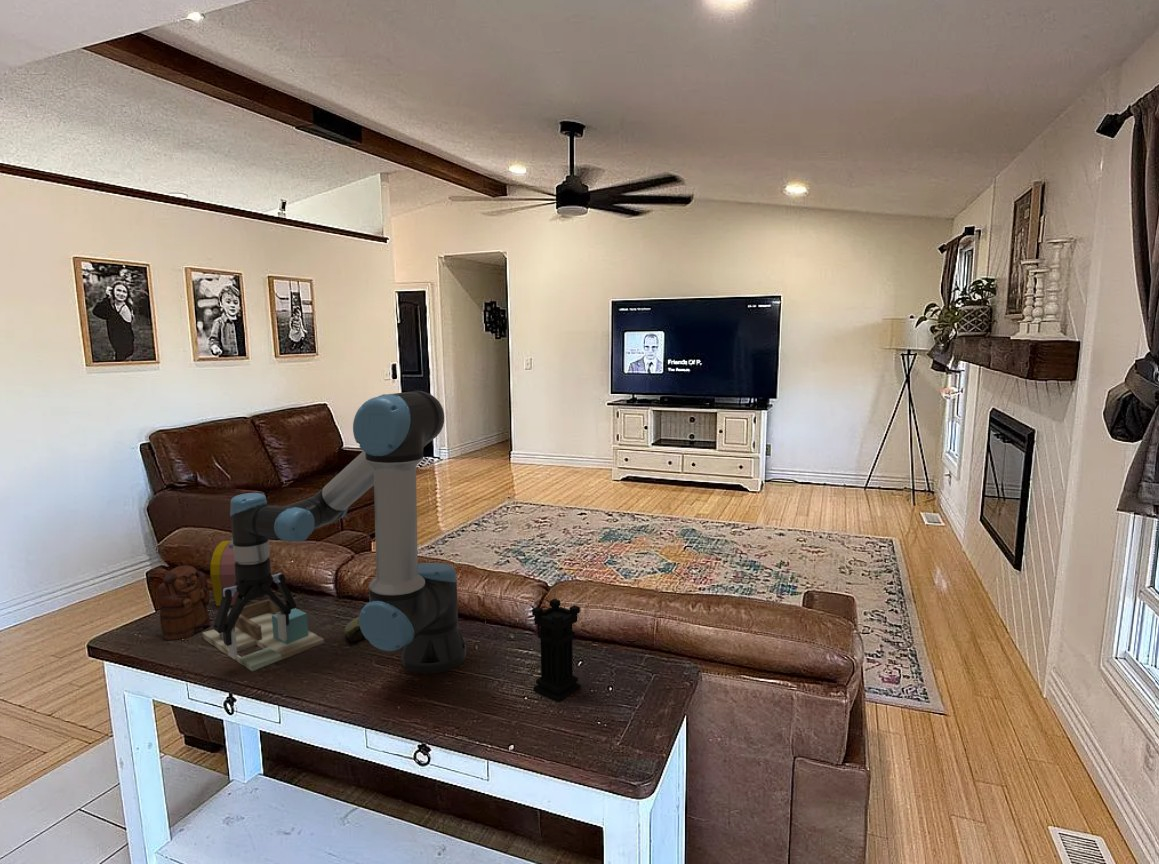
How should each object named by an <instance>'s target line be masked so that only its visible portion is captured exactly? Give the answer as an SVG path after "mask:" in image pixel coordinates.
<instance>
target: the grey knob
mask: <svg viewBox="0 0 1159 864" xmlns="http://www.w3.org/2000/svg"><path fill="white" fill-rule="evenodd" d="M231 609H232V607H230V608H229V612H228V615H229V613H230V611H231ZM216 613H218V611H217V612H216ZM228 615H227V617H228ZM232 630H234V631H235V625H234V627H233V629H232ZM219 637H220V640H222V641H224V638H223V632H222V633H219Z"/></svg>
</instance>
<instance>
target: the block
mask: <svg viewBox="0 0 1159 864" xmlns="http://www.w3.org/2000/svg"><path fill="white" fill-rule="evenodd" d="M308 621H309V620H308V613H307V612H305V611H303V610H301V609H298V608H297V607H296V608H295V609H292V610H291V613H290V614H289V625H287V626H286V632H287V640H286V641H283V640H281V639H280V638H279V635H278V620H277V614H275V615H272V625H273V638H275V639H277V640H279V641H281V642H283V643H285V644H288V643H291V642H293V641H296V640H298V639H301V638H303V637H306V636H308V631H309V625H308Z"/></svg>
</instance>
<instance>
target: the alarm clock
mask: <svg viewBox="0 0 1159 864" xmlns="http://www.w3.org/2000/svg"><path fill="white" fill-rule="evenodd" d="M235 563H236V561H235V560H234V550H233V538H232V539H231V540H223V541H220V543H218V545H216V547H215V549H214V551H213V553H212V557H211V562H210V568H209V569H210V579H211V584H212V590H213V596H214V600H215V605H216V607H219V606H220V603H221V599H222V591H221V590H222V588H223V587H226V588H229V587H233V586H235V583H236V577H235ZM238 594H239V593H238V592H237V591H236V592H235V593H234V596H233V597H232V601H231V605H230V607H231V606H232V607H233V605H234V603H235V602H236V597H237V595H238ZM243 598H244V597H243Z"/></svg>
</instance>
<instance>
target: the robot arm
mask: <svg viewBox="0 0 1159 864" xmlns="http://www.w3.org/2000/svg"><path fill="white" fill-rule="evenodd" d="M444 424H445V411H444V408H443V406H442V404H441V401H439V400H438V398H436V397H435V396H434V395H432V394H431V393H428V392H426V391H423V390H409V391H405V392H404V391H403V392H397V393H396V392H395V393H389V394H385V393H384V394H380V395H378V396H375V397H372V398H370V399H367V400H366V401H365V402H364V403H363V404H361V406H359V408H358V409H357V411H356V413H355V415H354V418H353V422H352V434H353V437H354V439H355V442H356V443H357V444H359V448H360V449H361V453H359V455H357V456H356V457H355V458H354V459H353V460H352V461H351V462H349V464H347V465H346V466H345V467H344V468H343V469H342V470H341V471H340V472H339V473H338V474H336V475H335V476H334V477H333V478H332V479H330V481H329V482H328V483H327V484H325V486H324V487H322V488H321V489H320V490H319V491H318V492H317V493H316V494H314V495H313V496H311V497H308V498H304V499H301V500H299V501H297V502H296V501H295V502H291V503H289V504H286V505H283V506H282V505H271V504H268V501H267V497H266V495H265V494H263V493H262V492H261V493H260V492H249V493H242V494H237V495H236V496H233V497H232V498H231V500H230V507H229V508H230V514H229V516H230V521H231V522H230V524H231V533H232V534H231V536H232V539H233V550H234V560H235V561H236V563H235V577H236V583H235V586H233V587H229V588H226V587H223V588H222V590H221V591H222V599H221V603H220V606H218V611H217V612H218V613H217V612H216V613H217V614H216V617H215V620H214V624H213V627H212V628H213V629H214V630H215V631H217V632H218V633H222V632H223V638H224V644H225V645H227V646H228V650H229V656H228V657H229V658H231V657H232V660H234V659H236V658H237V654H238V652H237V645H236V633H235V631H234V630H232V629H233V627H234V625H235V623H236V621H237V619H238V618H239V616H240V614H241V612H242V610H243V608H244V606H247V605H248V603H249V601H253V600H255V599H257V598H263V597H264V596H265V597H267V599H270V600H271V602H272V603H273V604H274V605H275V606H276V607H277V608H278V609H279V610H280V611H281V612H278V613H277V620H278V635H279V638H280V639H281V640H283V641H286V640H287V632H286V626H287V625H289V614H290V613H291V610H292V609H295V608H296V609H297V604H296V602H295V600H294V598H293V595H292V594H291V591H290V589H289V588H288V585H287V583H286V575H285V574H284V573H282V572H280V571H277V572H276V573H275V574H272V566H271V558H270V555H271V551H270V549H271V548H270V540H269V539H271V540H278V541H284V542H289V543H291V542H292V543H293V542H298V543H299V542H303V541H306V540H307V539H308V538H309V536H310V535H312V533H313V531H314V530H316V529H318V528H319V529H320V528H321V527H323V526H325V525H326V526H327V525H329V524H333V523H335V522H337V521H339V520H340V519H343V517H345V516H346V515H347V513H348V509H349V507H351V506H352V505H353V503H355V502H356V501H357V500H358V499H360V498H361V497H362V496H363V495H364V494H365V493H366V492H368V491H369V490H370V489H372V487H373V495H374V497H373V498H374V500H373V502H374V531H375V533H374V536H375V568H376V569H375V571H376V574H375V575H376V576H375V577H374V578H373V579H372V580H371V581H370V582H369V585H368V586H369V588H368V589H369V590H368V591H369V592H368V594H369V595H368V596H369V602H367V603H366V604H365V605H364V606H363V608H362V609H361V610H360V612H359V615H358V617H359V625H360V629H361V631H362V633H363V635H364V637H365V638H364V639H366V640H368V642H369V643H370V644H371V645H372V646H373V647H375V648H376V649H379V650H381V651H386V652H394V651H395V652H396V651H399V650H400V649H402V648H403V649H402V651H401V665H402V666H403V668H404V669H406V670H407V671H409V672H411V673H415V674H419V675H420V674H421V675H430V674H431V675H433V674H438V673H444V672H447V671H450V670H452V669H455V668H457V667H458V666H460V665H461V664H463V662H464V661H465V660H466V658H467V645H466V642H465V640H464V637H463V635H462V632H461V629H460V627H459V615H458V613H459V612H458V580H457V572H456V569H455V568H454V567H453V566H452V565H449V564H445V563H439V562H423V563H419V562H418V561H419V560H418V555H419V554H418V508H417V507H418V503H417V502H418V501H417V499H418V498H417V495H418V494H417V466H418V465H419V464H420V463H421V461H423V459H424V448H425V447H426V446H427V445H428V444H429V443H431V442H432V441H433V440H434V439H435V438H437V437H438V436H439V434H440V433H441V432H442V430H443V428H444V426H445V425H444ZM273 582H274V583H275V584H276V586H277V588H278V591H279V592H280V594H281V596H282V599H283V600H284V602H285V604H284V603H283V602H282V600H281V599H280V598H279V597H278V596H277V595H276V594H275V593H274V592H273V591H272V589H271V588H270V587H271V585H272V583H273ZM236 591H237V592H238V593H239V594H238V595H237V597H236V602H235V603H234V605H233V606H232V607H231V606H230V605H231V601H232V597H233V596H234V593H235V592H236ZM243 597H244V598H243ZM229 608H231V611H230V613H229V615H228V612H229ZM227 615H228V617H227Z"/></svg>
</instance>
